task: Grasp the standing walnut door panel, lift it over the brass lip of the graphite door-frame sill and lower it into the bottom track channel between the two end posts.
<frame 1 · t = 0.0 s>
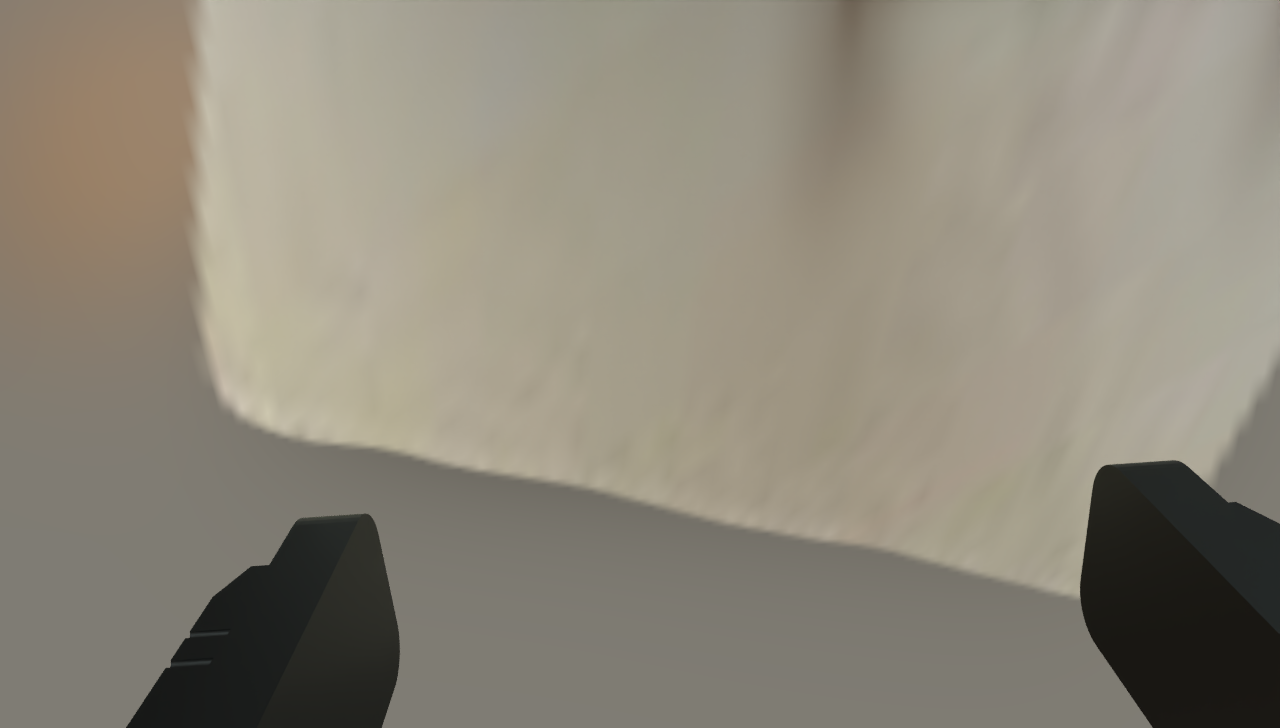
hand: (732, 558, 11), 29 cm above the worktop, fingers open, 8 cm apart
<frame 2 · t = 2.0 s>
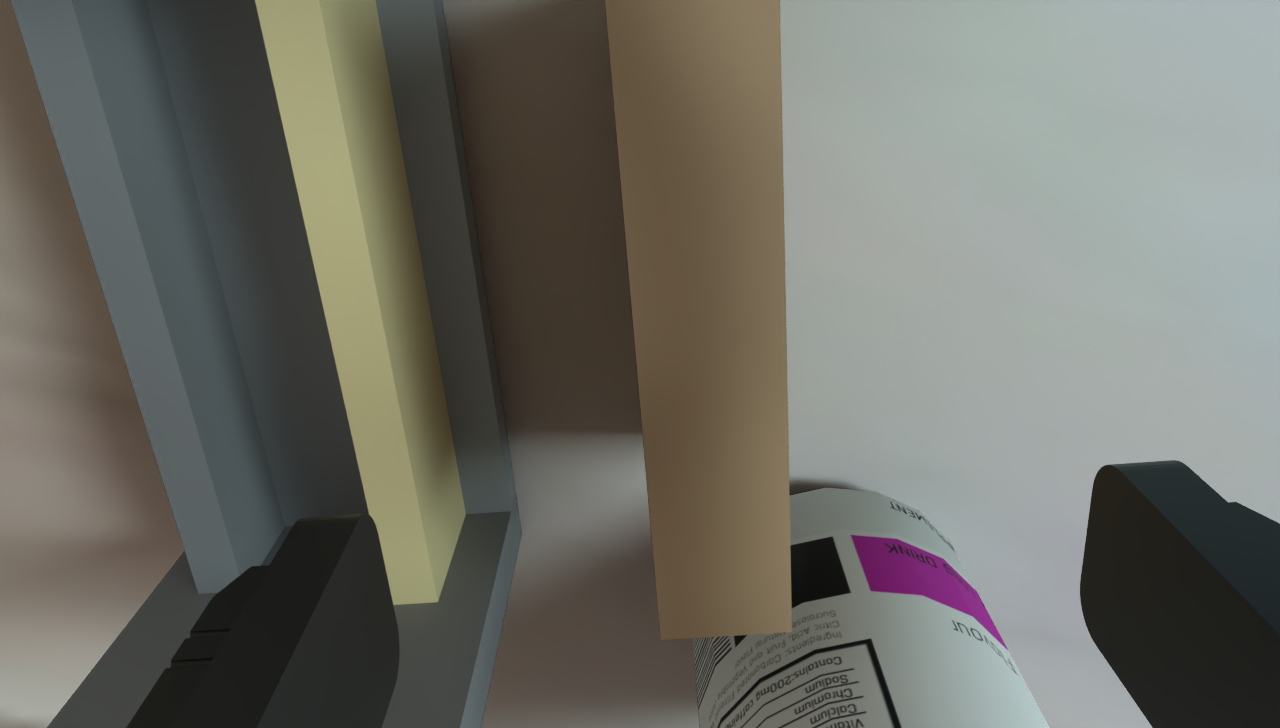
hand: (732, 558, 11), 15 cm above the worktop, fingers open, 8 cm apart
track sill: (308, 254, 25), on the worktop
supplement can: (820, 587, 29), on the worktop
door panel: (687, 224, 25), on the worktop
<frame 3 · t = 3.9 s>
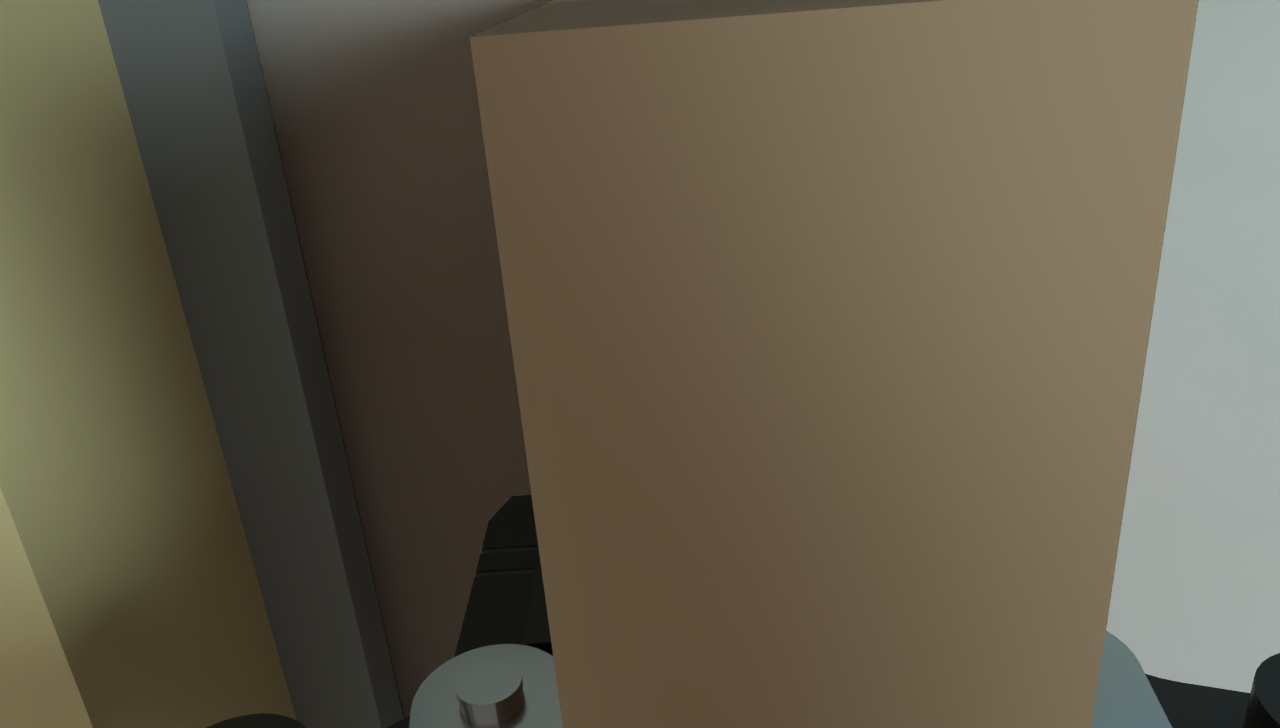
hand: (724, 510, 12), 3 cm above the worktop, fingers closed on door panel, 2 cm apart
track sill: (46, 463, 14), on the worktop
door panel: (709, 415, 14), on the worktop, touching gripper
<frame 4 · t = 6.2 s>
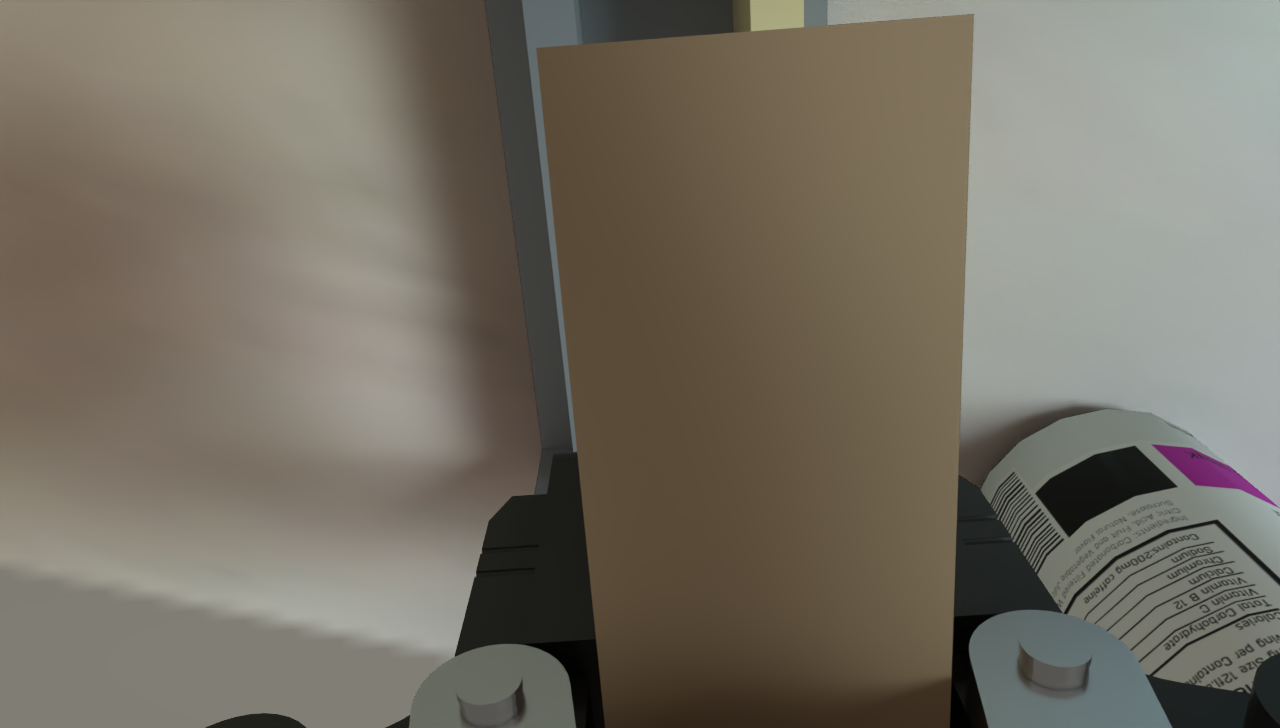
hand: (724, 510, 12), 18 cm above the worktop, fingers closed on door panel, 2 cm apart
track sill: (667, 195, 28), on the worktop
supplement can: (1079, 505, 32), on the worktop
door panel: (703, 419, 16), point 13 cm above the worktop, touching gripper
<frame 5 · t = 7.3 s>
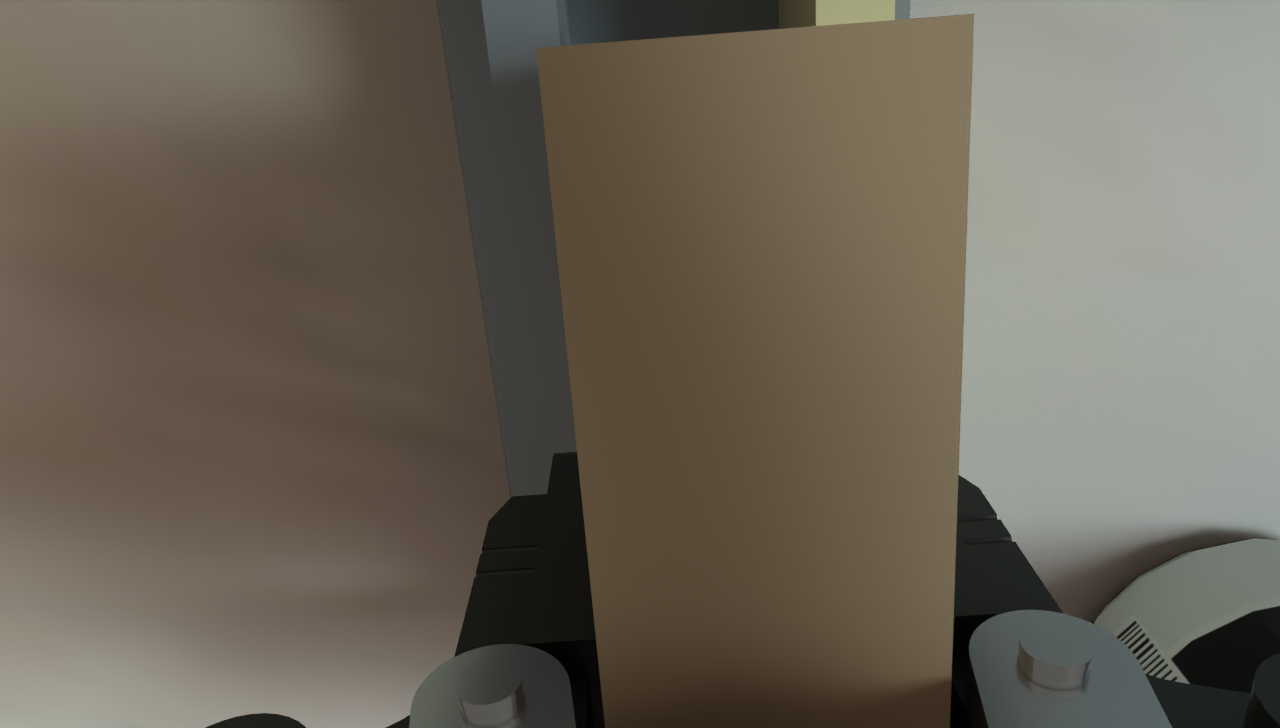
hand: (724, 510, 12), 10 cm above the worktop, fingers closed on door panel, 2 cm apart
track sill: (687, 269, 21), on the worktop
supplement can: (1206, 648, 26), on the worktop
door panel: (703, 419, 16), point 6 cm above the worktop, touching gripper
when the fingers open (6 cm above the worktop, at t = 8.5 s): door panel stays where it is, resting on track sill.
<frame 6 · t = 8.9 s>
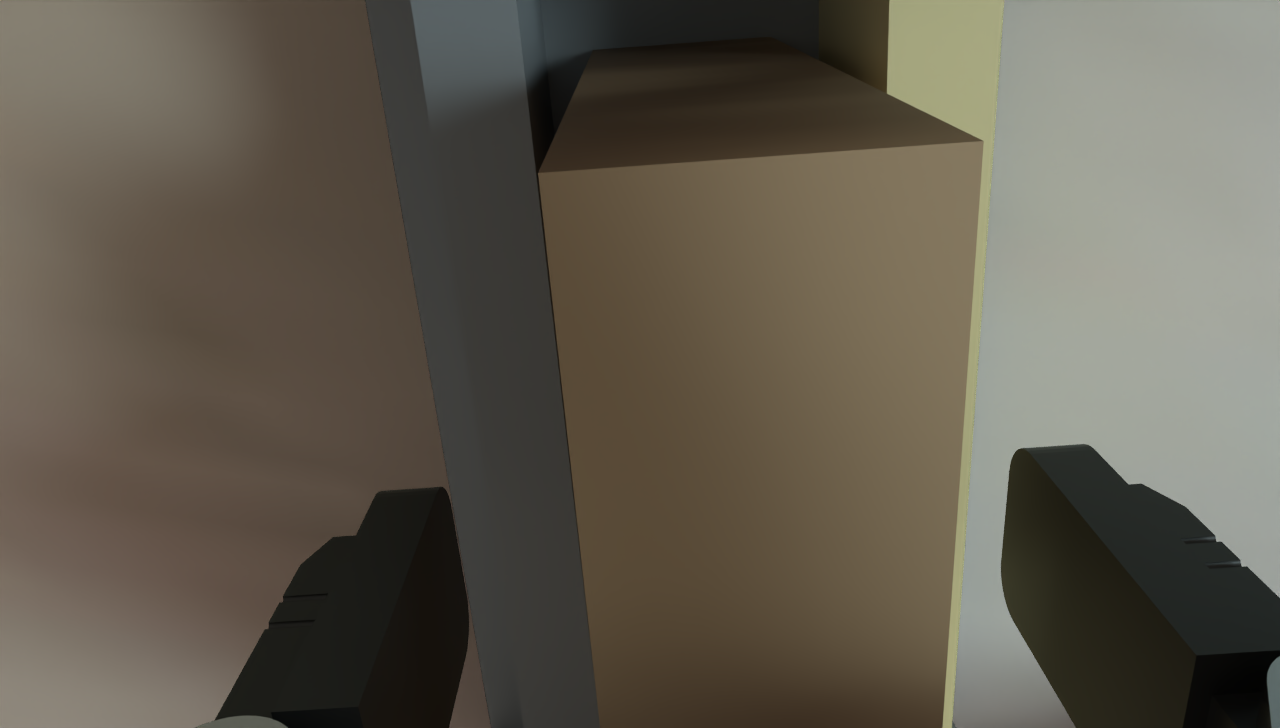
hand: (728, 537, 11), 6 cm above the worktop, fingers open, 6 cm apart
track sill: (694, 342, 17), on the worktop
door panel: (700, 412, 16), point 1 cm above the worktop, touching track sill
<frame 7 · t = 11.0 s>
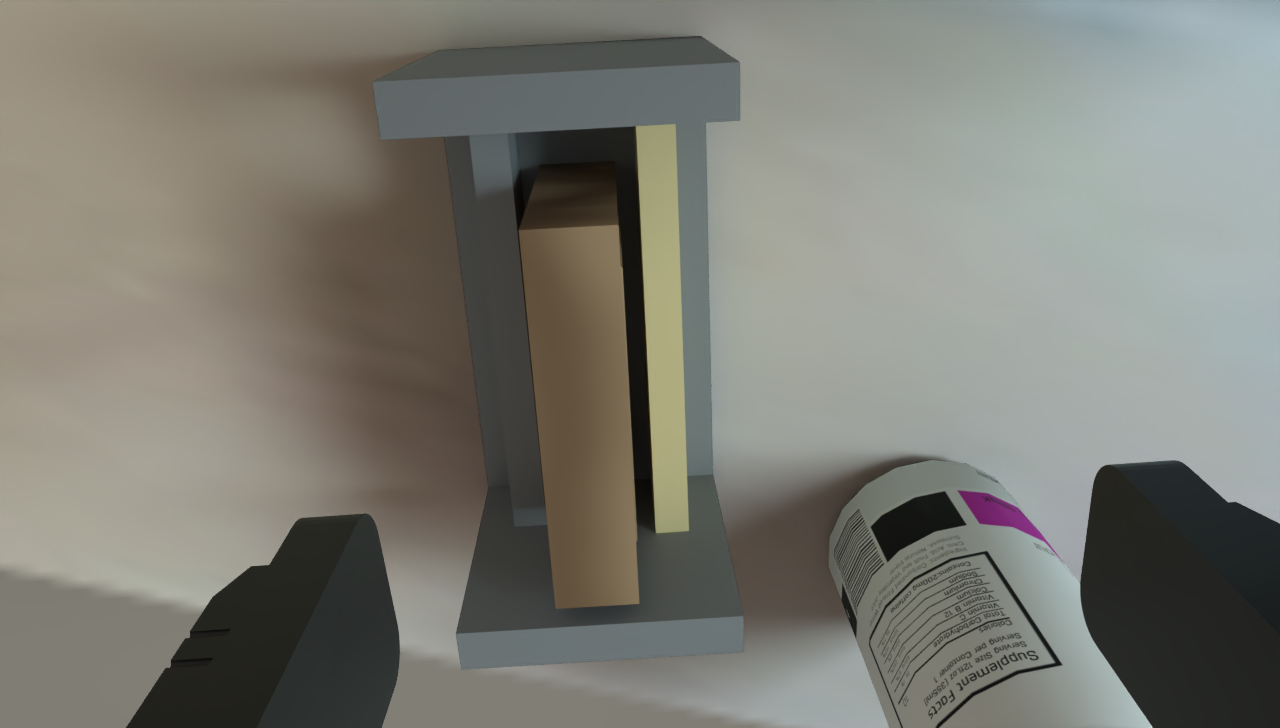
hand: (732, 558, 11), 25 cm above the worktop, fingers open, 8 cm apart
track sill: (588, 293, 36), on the worktop
supplement can: (917, 533, 41), on the worktop
door panel: (588, 324, 35), point 1 cm above the worktop, touching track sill
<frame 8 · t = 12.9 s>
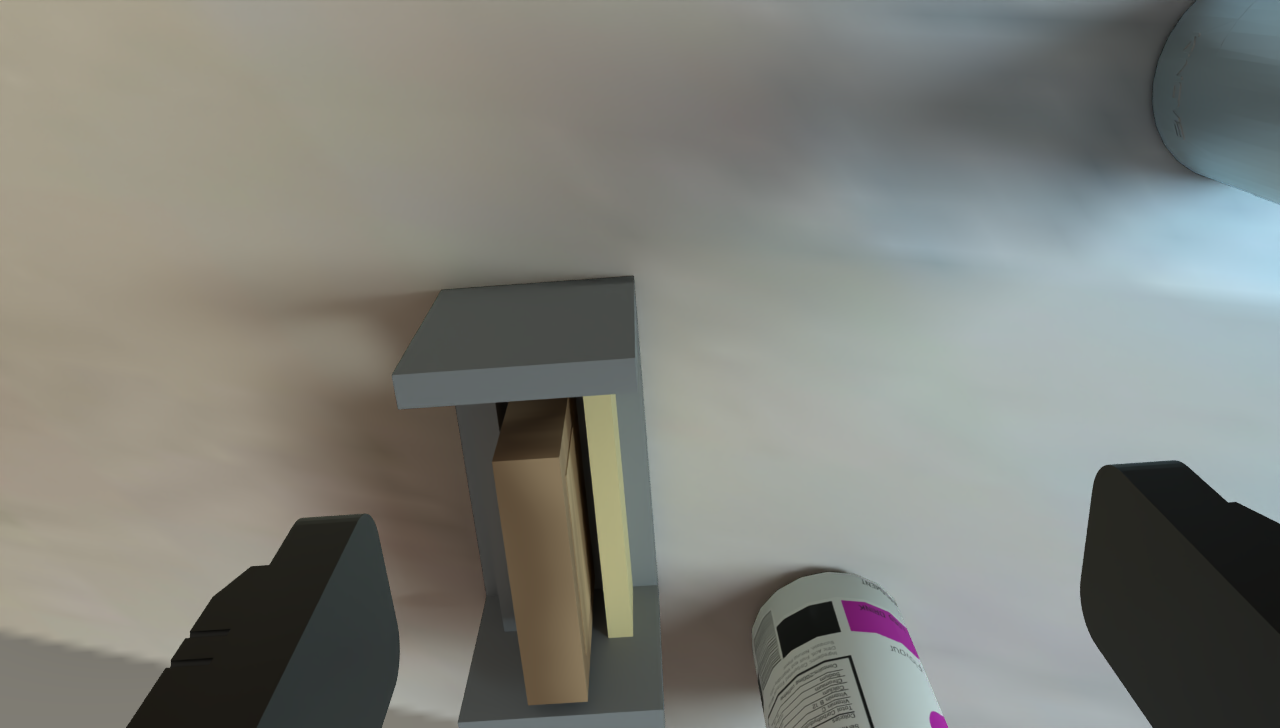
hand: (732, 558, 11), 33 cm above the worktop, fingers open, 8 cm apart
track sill: (557, 453, 47), on the worktop
supplement can: (823, 624, 52), on the worktop
door panel: (558, 478, 47), point 1 cm above the worktop, touching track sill
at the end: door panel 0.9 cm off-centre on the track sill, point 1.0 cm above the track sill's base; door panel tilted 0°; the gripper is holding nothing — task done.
